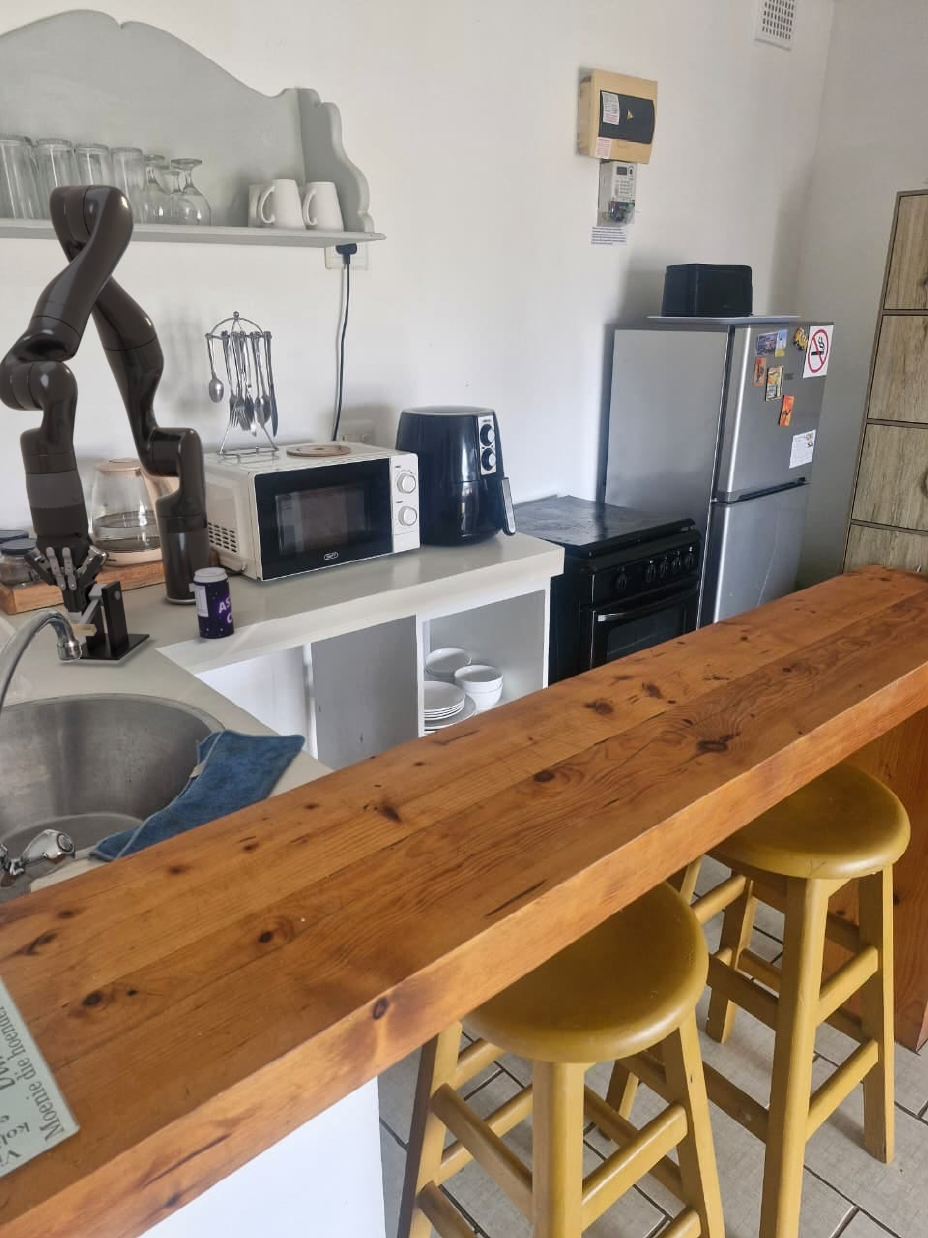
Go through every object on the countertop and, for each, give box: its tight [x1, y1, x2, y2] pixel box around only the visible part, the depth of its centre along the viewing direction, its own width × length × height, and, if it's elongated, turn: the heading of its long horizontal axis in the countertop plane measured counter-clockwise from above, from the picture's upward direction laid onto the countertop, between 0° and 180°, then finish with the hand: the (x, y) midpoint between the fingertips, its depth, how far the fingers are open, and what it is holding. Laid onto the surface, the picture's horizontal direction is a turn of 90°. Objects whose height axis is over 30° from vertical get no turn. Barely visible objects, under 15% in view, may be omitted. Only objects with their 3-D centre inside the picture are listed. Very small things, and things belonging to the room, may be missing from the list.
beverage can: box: [193, 567, 235, 640], centre depth 148 cm, size 6×6×12 cm
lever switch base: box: [79, 579, 150, 661], centre depth 142 cm, size 11×9×12 cm
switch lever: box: [70, 583, 109, 637], centre depth 138 cm, size 10×4×2 cm, turn 174°
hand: (76, 611), depth 134 cm, fingers closed
